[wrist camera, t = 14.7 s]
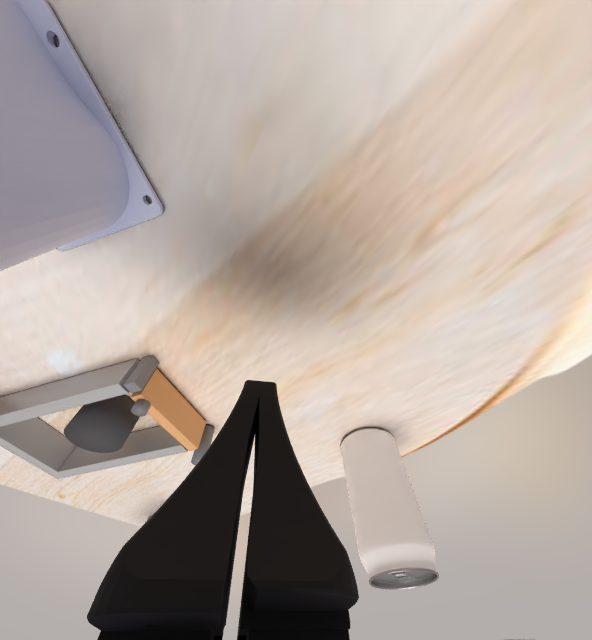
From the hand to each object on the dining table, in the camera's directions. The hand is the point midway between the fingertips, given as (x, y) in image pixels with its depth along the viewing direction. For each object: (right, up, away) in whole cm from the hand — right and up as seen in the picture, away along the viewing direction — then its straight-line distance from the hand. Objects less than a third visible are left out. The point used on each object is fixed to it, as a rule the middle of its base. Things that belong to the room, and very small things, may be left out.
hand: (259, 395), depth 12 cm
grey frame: (-18, -6, +15) cm, 24 cm away
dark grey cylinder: (-17, -5, +14) cm, 23 cm away
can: (+10, -11, +19) cm, 24 cm away
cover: (-10, -5, +14) cm, 18 cm away
